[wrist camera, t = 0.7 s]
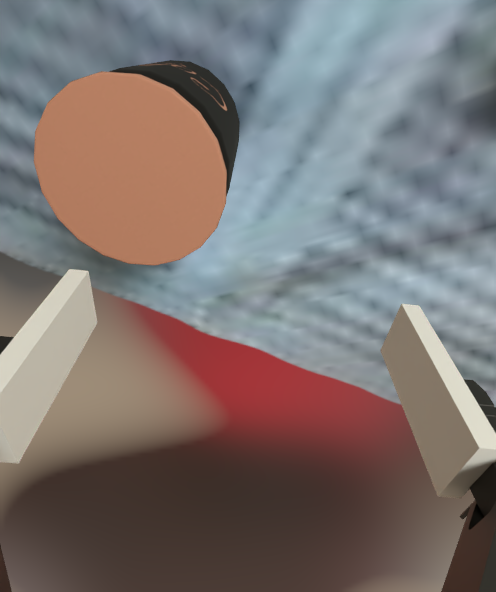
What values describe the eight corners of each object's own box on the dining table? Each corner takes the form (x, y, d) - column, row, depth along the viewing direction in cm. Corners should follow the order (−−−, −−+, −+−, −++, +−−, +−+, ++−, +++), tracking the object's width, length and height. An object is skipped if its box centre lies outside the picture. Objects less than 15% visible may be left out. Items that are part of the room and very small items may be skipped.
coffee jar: (251, 76, 33) (245, 101, 18) (229, 190, 38) (211, 280, 24) (131, 45, 31) (18, 44, 17) (127, 168, 37) (42, 247, 23)
